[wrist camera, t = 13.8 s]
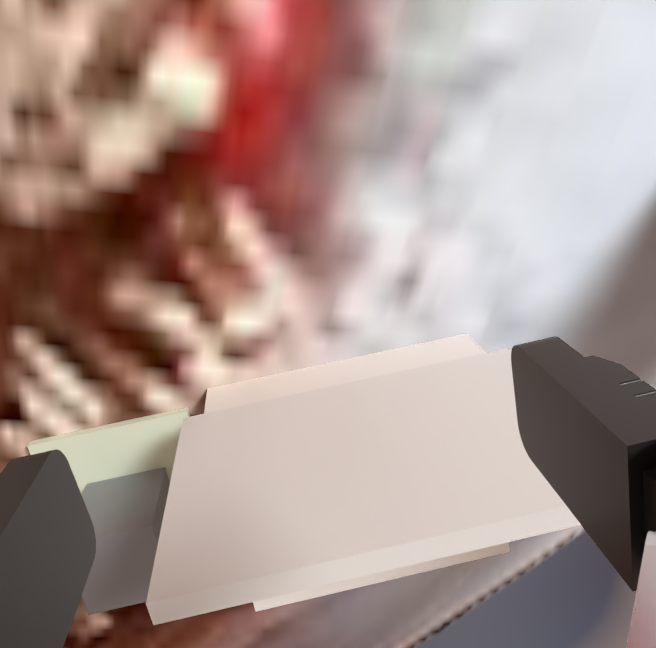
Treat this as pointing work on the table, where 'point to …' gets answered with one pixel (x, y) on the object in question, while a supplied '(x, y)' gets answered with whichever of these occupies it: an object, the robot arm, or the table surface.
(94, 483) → the block
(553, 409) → the robot arm
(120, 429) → the mat
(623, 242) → the table surface
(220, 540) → the case
